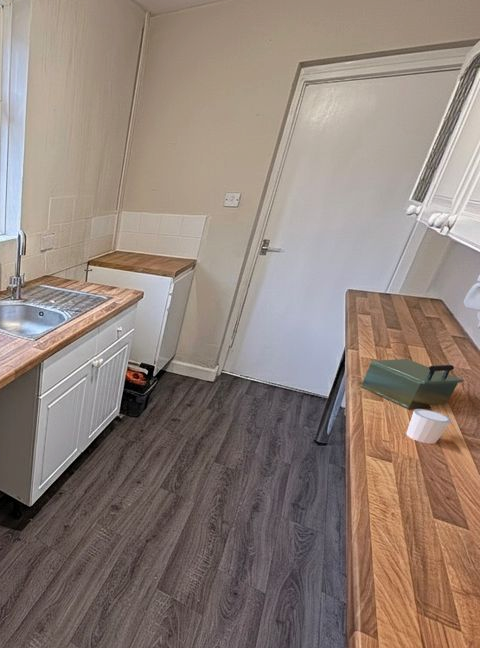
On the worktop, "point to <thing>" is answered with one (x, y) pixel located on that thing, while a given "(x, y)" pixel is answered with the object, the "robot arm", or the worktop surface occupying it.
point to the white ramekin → (427, 426)
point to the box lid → (419, 371)
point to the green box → (405, 389)
